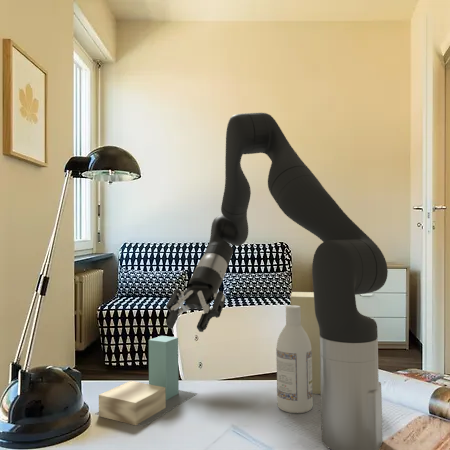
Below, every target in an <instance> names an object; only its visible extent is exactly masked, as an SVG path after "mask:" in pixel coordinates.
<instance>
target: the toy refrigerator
mask: <svg viewBox="0 0 450 450" xmlns="http://www.w3.org/2000/svg"><path fill="white" fill-rule="evenodd" d="M289 299H290V305H296V306H300V308H301V326H302V327H303V329H304V330H305V332H306V333H307V335H308V337H309V340H310V343H311V349H312V395H321V381H320V331H319V324H318V321H317V319H316V315H315V305H314V291H312V292H311V291H291V294H290V298H289ZM290 305H289V306H290Z"/></svg>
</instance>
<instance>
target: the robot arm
mask: <svg viewBox="0 0 450 450" xmlns="http://www.w3.org/2000/svg"><path fill="white" fill-rule="evenodd" d="M252 154H265V155H266V156H267V157H268V158H269V159H270V161H271V164H270V167H269V171H268V176H267V189H268V192H269V193H270V195H271V197H272V198H273V200H274V201H275V203H276V204H277V206H278V208H279V209H280V210H281V211H282V212H283V214H284V215H285V216H286V217H288V218H289V219H290V220H291V221H293V222H294V223H295V224H297V225H298V226H300V227H302V228H304V229H305V230H306V231H308V232H310V233H311V234H313V235H314V236H316V238H318V239H320V241H322V242H321V243H320V244H319V245H318V246H317V248H316V249H315V252H314V254H313V257H312V265H311V266H312V269H311V275H312V288H313V289H312V290H313V291H312V292H314V305H315V315H316V319H317V321H318V324H319V331H320V381H321V394H320V418H321V419H320V420H321V423H320V424H321V425H320V428H321V429H320V430H321V441H322V443H323V445H324V446H326V448H328V447H329V449H330V450H331V449H332V450H380V449H381V446H382V443H383V440H384V439H383V437H384V435H383V432H384V431H383V403H382V402H383V400H382V399H383V397H382V382H381V381H380V380H379V346H378V345H379V343H378V334H379V333H378V323H377V322H376V320H375V319H374V318H372V317H370V316H368V315H367V316H366V315H364V314H362V313H361V312H360V311H359V310H358V308H357V300H356V295H365V294H370V293H373V292H376V291H378V290H381V288H382V287H383V286H384V285H385V284H386V282H387V279H388V275H389V274H388V273H389V270H388V264H387V261H386V258H385V255H384V253H383V251H381V249H380V247H379V246H378V245H377V244H376V242H374V241H373V240H372V238H370V236H369V235H367V233H365V232H364V231H363V230H362V228H360V227H359V226H358V225H357V224H356V223H355V222H354V221H353V219H351V218H350V217H349V216H348V215H347V214H346V212H344V210H343V209H342V208H341V206H339V204H338V203H337V202H336V200H335V199H334V198H333V197H332V196H331V194H330V193H329V192H328V191H327V189H326V188H325V187H324V186H323V184H322V183H321V181H320V180H319V179H318V178H317V177H316V175H315V174H314V173H313V171H312V170H311V169H310V168H309V166H308V165H306V164H305V163H304V161H303V159H301V158H300V156H299V154H298V153H297V151H296V150H295V149H294V148H293V147H292V145H291V144H290V142H289V140H288V138H287V136H285V134H284V132H283V130H282V129H281V127H280V125H279V124H278V122H277V121H276V119H275V118H274V117H273V116H272V115H271V114H269V113H267V112H248V113H247V112H246V113H237V114H233V115H232V116H231V117H230V118H229V120H228V123H227V126H226V134H225V163H224V164H225V165H224V166H225V169H224V170H225V171H224V172H225V174H224V175H225V179H224V191H223V196H222V200H221V201H222V202H221V206H220V210H221V211H220V212H221V214H222V215H218V216H216V217H214V219H213V220H212V223H211V226H210V227H211V229H210V238H209V242H208V245H207V247H206V249H205V251H204V254H203V256H202V257H201V259H200V260H199V261H198V264H197V265H196V267H195V269H194V271H193V273H192V275H191V278H190V279H189V282H188V287H187V289H186V290H184V291H181V290H180V289H179V288H175V289H174V291H173V293H172V295H171V296H170V298H169V299H168V301H167V304H166V305H165V308H166V309H167V311H168V312H169V314H168V317H166V318H167V319H166V320H165V323H166V326H167V327H168V329H173V328H174V327H175V324H176V323H177V320H178V318H179V316H180V315H181V314H182V313H184V312H187V311H189V310H199V311H201V310H203V313H202V314H201V315H200V318H199V320H198V322H197V325H196V329H197V331H198V332H199V333H204V331H205V330H206V329H207V328H208V326H209V323H210V320H212V319H213V318H219V317H220V316H221V313H222V311H223V308H224V304H225V302H226V296H225V295H224V293H223V290H222V291H221V290H219V288H220V287H221V284H222V283H223V280H224V277H225V275H226V272H227V268H228V266H229V264H230V261H231V260H232V257H233V253H234V249H233V247H232V246H236V247H237V246H242V245H243V244H245V242H247V240H248V236H249V224H248V209H249V205H250V200H251V194H252V193H251V186H250V183H249V181H248V179H247V176H246V175H245V173H244V171H243V168H242V165H241V164H242V163H241V161H242V157H243V155H252ZM212 302H213V304H212V307H210V304H211V303H212ZM184 304H185V305H184Z"/></svg>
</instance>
